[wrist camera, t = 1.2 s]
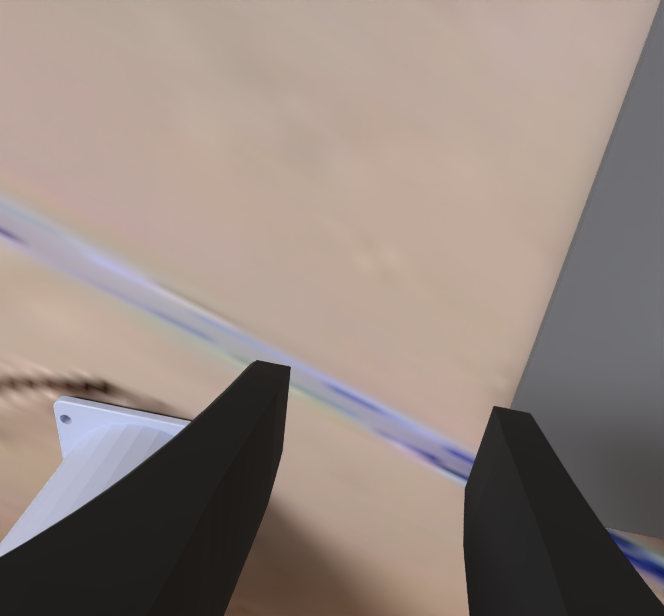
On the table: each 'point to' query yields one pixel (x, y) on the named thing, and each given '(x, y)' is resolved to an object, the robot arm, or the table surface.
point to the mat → (612, 322)
